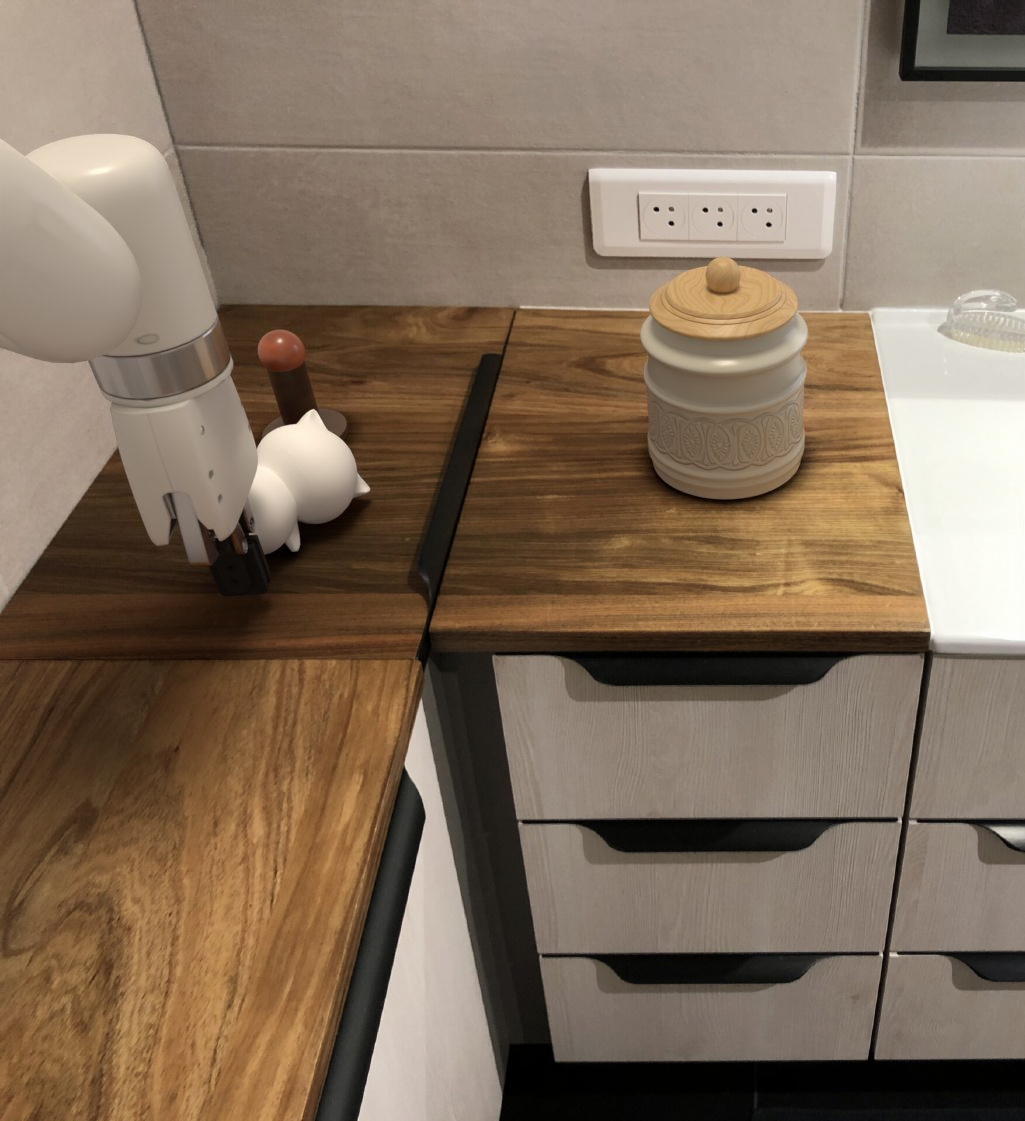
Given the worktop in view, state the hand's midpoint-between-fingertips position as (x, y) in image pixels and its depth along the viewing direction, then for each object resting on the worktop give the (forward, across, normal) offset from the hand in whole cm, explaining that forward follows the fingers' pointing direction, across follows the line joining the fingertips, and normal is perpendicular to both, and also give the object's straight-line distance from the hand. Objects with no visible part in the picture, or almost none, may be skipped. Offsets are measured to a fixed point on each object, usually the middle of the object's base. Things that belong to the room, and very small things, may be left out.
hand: (247, 587), depth 79 cm
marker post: (+2, -22, 0) cm, 22 cm away
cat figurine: (+2, -9, +1) cm, 10 cm away
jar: (+2, -14, +35) cm, 38 cm away
